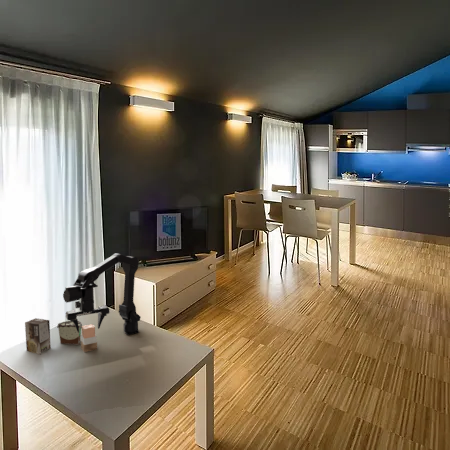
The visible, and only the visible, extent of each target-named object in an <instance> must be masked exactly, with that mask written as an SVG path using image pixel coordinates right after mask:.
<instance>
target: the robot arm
mask: <svg viewBox="0 0 450 450" xmlns="http://www.w3.org/2000/svg"><path fill="white" fill-rule="evenodd" d="M139 263H140V260H139V259H138V257H136V256H130V255H123V254H121V253H112V255H111V256H110V257H107V258H105V259H104V260H102V261H101V262H99V263H98V264H96V265H95V266H92V267H90V268H86V269H83V270H82V271H80V272H78V274H77V278H76V280H75V281H74V283H73V284H72V286H66V287H65V289H64V290H63V293H62V296H63V297H62V298H63V300H64V302H65V303H66V304H67V303H71V302H74V306H75V307H74V308H75V309H79V311H76V310H75V309H73V310H68V311H66V312H65V318H66V320H67V321H71V322H72V321H73V322H74V324H75V327H76V329H77V332H78V333H79V326H78V321H79V320H78V318H77V317H80V316H86V315H93V314H97V329H98V330H99V329H100V328H101V325H102V323H103V320H104V318H105V317H107V315H109V314H110V308H109V307H108V306H107V305H99V306H98V308H95V297H94V295H95V294H94V288H97V287H98V284H97V283H95V281H97V280H98V278H99V277H100V276H101V274H103V273H105V272H107V271H108V270H110V269H111V268H113V267H114V266H115V265H117V264H121V265H122V270H123V272H124V285H123V287H124V289H123V302H122V303H121V304H119V305H118V313H119V316H120V317H121V319H122V320H123V321H124V323H123V332H124V333H125V334H126V335H132V334H136V333H140V330H139V321H140V320H141V316H140V315H139V314H138V313H137V307H136V305H135V303H134V293H135V274H136V272H137V270H138V268H139Z"/></svg>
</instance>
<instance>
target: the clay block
mask: <svg viewBox="0 0 450 450" xmlns="http://www.w3.org/2000/svg"><path fill="white" fill-rule="evenodd" d="M95 335H96V326H95V325H94V324H93V323H91V324H86V325H82V328H81V337H82V336H83V338H84V339H85V338H90V337H95Z"/></svg>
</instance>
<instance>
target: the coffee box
mask: <svg viewBox="0 0 450 450" xmlns="http://www.w3.org/2000/svg"><path fill="white" fill-rule="evenodd" d="M50 322H51V321H50V319H43V318H36V317H35V318H33V319H29V321H28V320H27V321H25V322H24V330H25V347H26V351H28V352H30V353H33V354H37V355H41V356H42V354H41V353H43V352H46V351H47V350H49V349H51V347H52V346H51V345H52V344H51V330H50V329H51V326H50V324H51V323H50Z"/></svg>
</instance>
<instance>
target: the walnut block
mask: <svg viewBox="0 0 450 450" xmlns="http://www.w3.org/2000/svg"><path fill="white" fill-rule="evenodd" d="M80 348H81V350H82V351H83V352H84V353H87V352H91V351H96V350H98V341H97V342H96V343H92V344H87V345H84V344H83V342H82V340H80Z"/></svg>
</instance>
